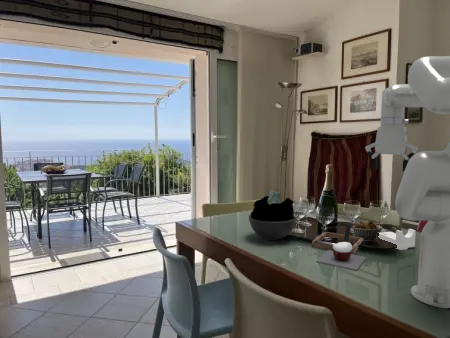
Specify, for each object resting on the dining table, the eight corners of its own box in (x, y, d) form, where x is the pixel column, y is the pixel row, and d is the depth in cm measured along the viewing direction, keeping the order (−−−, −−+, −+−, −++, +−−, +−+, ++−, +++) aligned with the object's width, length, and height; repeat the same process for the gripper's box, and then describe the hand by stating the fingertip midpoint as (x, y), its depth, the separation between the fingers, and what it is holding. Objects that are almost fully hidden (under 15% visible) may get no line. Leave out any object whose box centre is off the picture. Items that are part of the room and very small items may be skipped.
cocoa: (338, 265, 119) (340, 231, 117) (326, 258, 125) (327, 226, 123) (359, 259, 123) (360, 227, 121) (346, 253, 129) (347, 222, 127)
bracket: (414, 249, 138) (415, 230, 137) (400, 250, 135) (401, 232, 135) (390, 239, 150) (391, 222, 149) (376, 240, 148) (377, 223, 147)
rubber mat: (356, 270, 114) (356, 269, 114) (315, 262, 122) (315, 260, 122) (366, 258, 126) (366, 257, 126) (328, 251, 134) (328, 249, 134)
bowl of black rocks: (239, 238, 150) (239, 195, 148) (270, 230, 163) (271, 190, 161) (273, 250, 135) (274, 202, 133) (305, 240, 147) (306, 196, 145)
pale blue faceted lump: (243, 217, 190) (250, 185, 190) (276, 223, 195) (283, 192, 195) (254, 223, 172) (262, 189, 172) (290, 231, 177) (298, 197, 177)
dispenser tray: (353, 255, 130) (353, 247, 129) (311, 246, 138) (312, 239, 138) (363, 243, 143) (363, 237, 142) (324, 237, 152) (325, 230, 151)
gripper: (420, 122, 122) (417, 170, 124) (368, 123, 132) (366, 167, 133) (418, 122, 116) (415, 172, 118) (364, 122, 126) (362, 169, 127)
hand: (389, 170), depth 125 cm, fingers open, 9 cm apart
